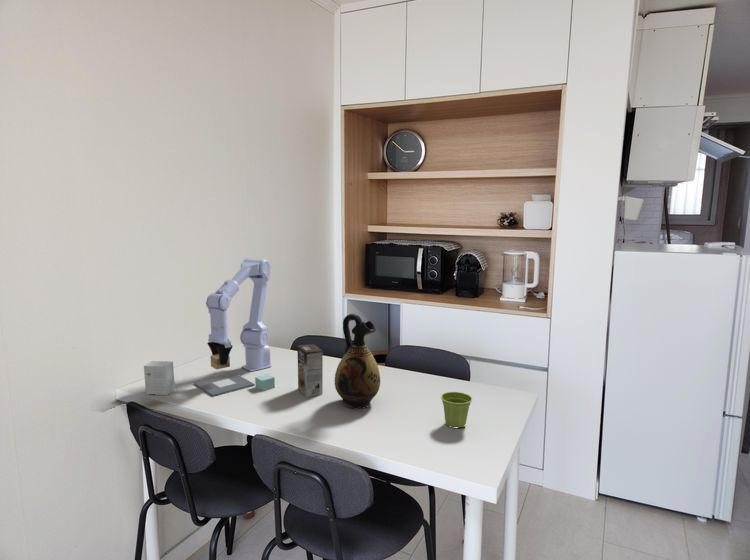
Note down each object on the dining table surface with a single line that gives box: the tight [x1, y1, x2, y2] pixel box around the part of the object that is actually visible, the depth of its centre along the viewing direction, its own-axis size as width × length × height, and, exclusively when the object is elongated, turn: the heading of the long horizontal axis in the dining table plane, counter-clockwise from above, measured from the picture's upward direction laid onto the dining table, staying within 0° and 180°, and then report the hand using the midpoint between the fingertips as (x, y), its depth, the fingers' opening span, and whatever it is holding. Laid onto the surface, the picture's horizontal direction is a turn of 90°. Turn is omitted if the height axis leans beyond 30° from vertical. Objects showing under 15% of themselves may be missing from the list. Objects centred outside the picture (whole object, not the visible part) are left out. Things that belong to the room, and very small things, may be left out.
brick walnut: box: [210, 354, 231, 370], centre depth 181 cm, size 5×5×4 cm
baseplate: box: [193, 372, 256, 397], centre depth 182 cm, size 16×16×1 cm
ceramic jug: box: [334, 313, 381, 409], centre depth 165 cm, size 17×15×30 cm
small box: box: [143, 360, 176, 396], centre depth 174 cm, size 8×6×10 cm
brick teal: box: [254, 373, 276, 392], centre depth 180 cm, size 5×5×4 cm
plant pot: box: [440, 391, 473, 428], centre depth 150 cm, size 9×9×9 cm
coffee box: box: [296, 343, 324, 398], centre depth 175 cm, size 9×6×16 cm
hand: (220, 362), depth 181 cm, fingers closed on brick walnut, 5 cm apart
